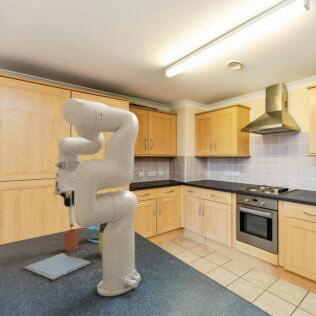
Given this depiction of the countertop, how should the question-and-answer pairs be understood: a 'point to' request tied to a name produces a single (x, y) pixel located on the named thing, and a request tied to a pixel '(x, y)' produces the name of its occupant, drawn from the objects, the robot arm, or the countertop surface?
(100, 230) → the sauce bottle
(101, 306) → the countertop surface
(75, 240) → the pen pot
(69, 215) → the stylus
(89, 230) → the chair
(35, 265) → the plate
